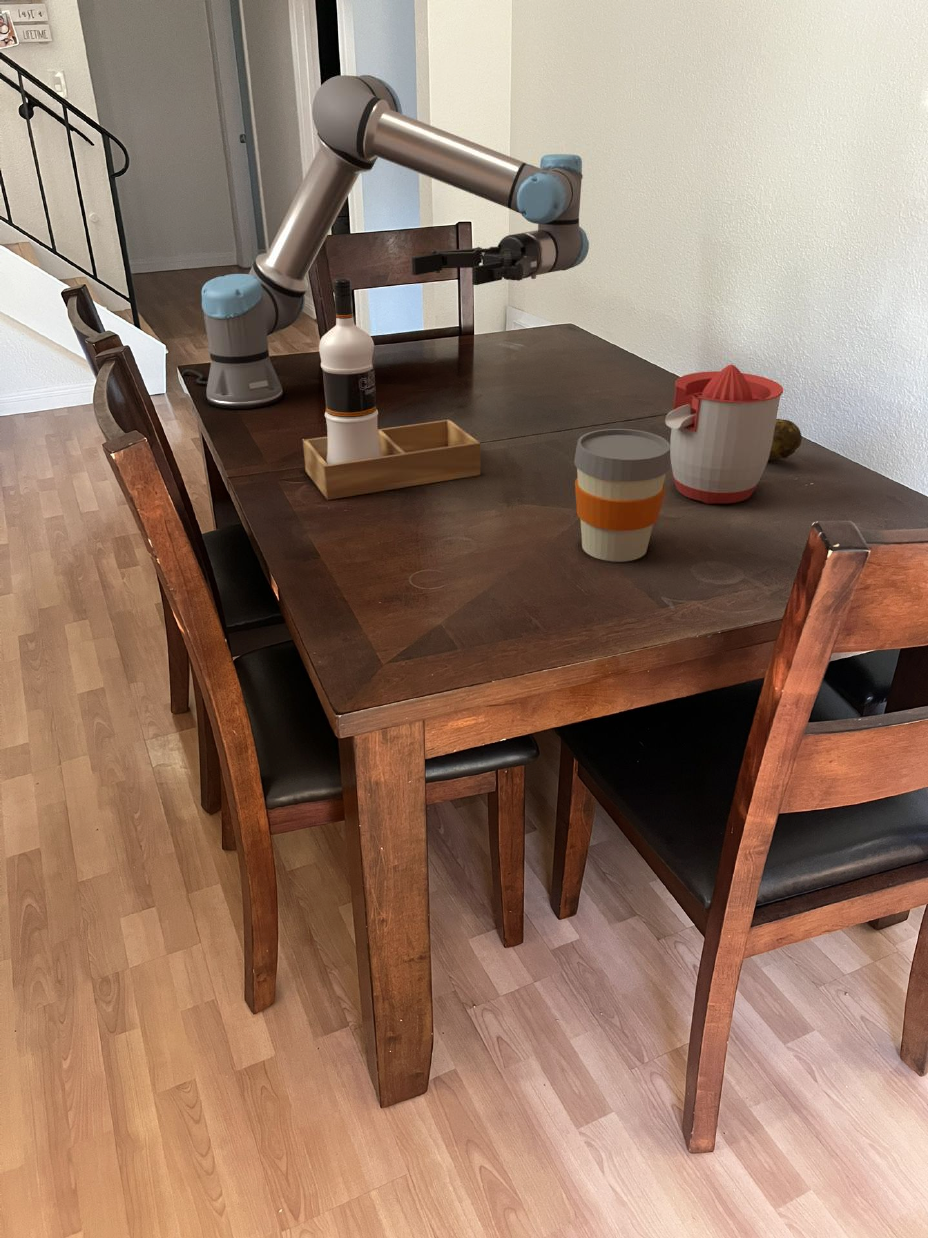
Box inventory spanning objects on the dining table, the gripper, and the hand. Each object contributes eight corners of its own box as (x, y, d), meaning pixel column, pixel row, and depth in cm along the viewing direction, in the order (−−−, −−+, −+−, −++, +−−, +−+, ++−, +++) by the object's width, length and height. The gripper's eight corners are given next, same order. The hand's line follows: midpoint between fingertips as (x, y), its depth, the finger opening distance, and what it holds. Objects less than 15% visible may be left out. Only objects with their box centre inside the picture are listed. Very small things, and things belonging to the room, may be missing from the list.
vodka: (330, 461, 150) (314, 272, 135) (386, 461, 150) (376, 272, 135) (323, 482, 142) (305, 284, 127) (381, 482, 142) (370, 284, 127)
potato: (765, 445, 160) (773, 401, 156) (803, 471, 149) (813, 425, 145) (722, 449, 158) (729, 404, 154) (757, 475, 147) (765, 428, 143)
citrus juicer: (634, 482, 145) (647, 358, 135) (724, 467, 151) (742, 347, 140) (690, 519, 132) (708, 385, 122) (785, 501, 138) (810, 371, 128)
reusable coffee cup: (598, 574, 118) (607, 466, 110) (553, 537, 128) (558, 435, 120) (678, 557, 122) (692, 451, 114) (628, 522, 132) (637, 423, 124)
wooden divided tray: (305, 471, 150) (302, 439, 147) (449, 449, 159) (449, 419, 156) (327, 500, 139) (324, 466, 137) (480, 474, 148) (480, 443, 145)
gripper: (580, 286, 155) (501, 305, 142) (472, 269, 169) (391, 285, 156) (582, 239, 151) (502, 254, 138) (472, 226, 166) (389, 239, 152)
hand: (443, 270), depth 147 cm, fingers open, 13 cm apart
